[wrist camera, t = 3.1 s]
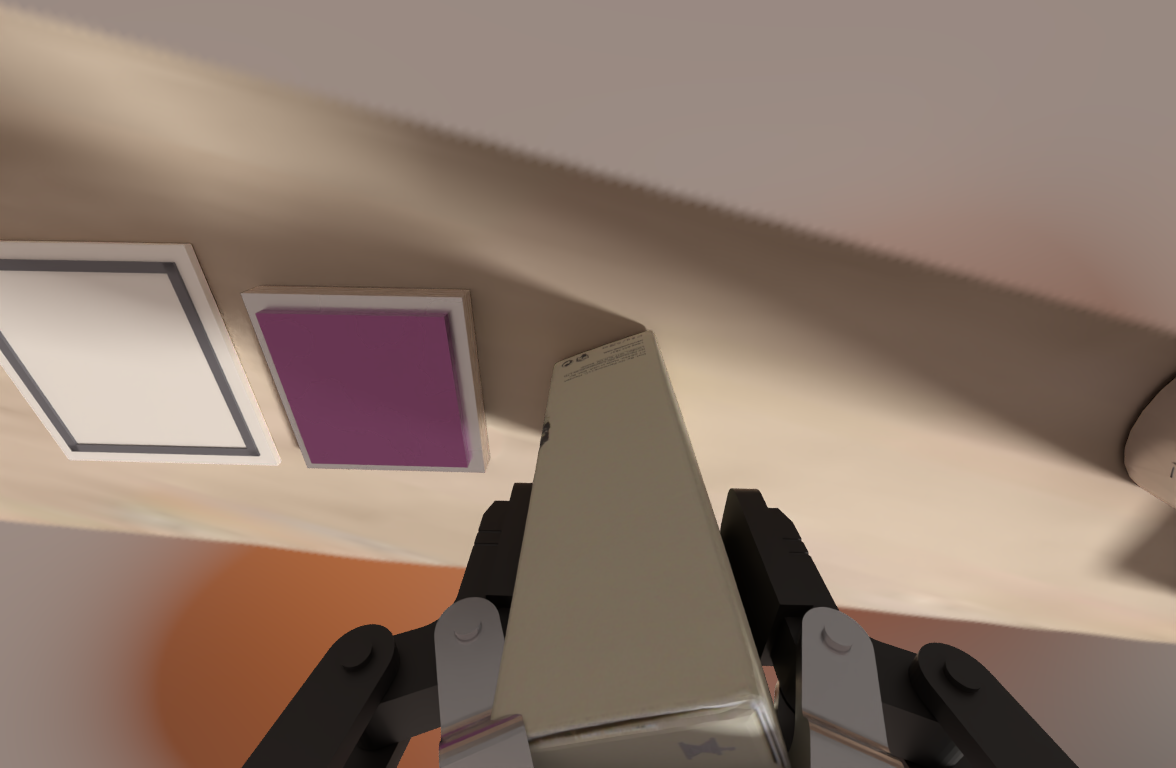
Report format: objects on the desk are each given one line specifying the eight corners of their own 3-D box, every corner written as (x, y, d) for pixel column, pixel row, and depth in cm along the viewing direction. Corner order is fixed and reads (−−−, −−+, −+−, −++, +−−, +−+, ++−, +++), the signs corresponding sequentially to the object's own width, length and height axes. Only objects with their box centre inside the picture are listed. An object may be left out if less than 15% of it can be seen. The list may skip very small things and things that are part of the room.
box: (550, 359, 17) (456, 745, 6) (655, 324, 17) (770, 697, 5) (595, 457, 20) (586, 867, 8) (689, 431, 19) (819, 848, 8)
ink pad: (469, 289, 16) (458, 300, 15) (490, 458, 20) (482, 478, 19) (260, 285, 16) (231, 296, 15) (320, 454, 20) (302, 473, 19)
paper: (190, 243, 16) (181, 245, 15) (281, 461, 20) (276, 467, 20) (-77, 239, 16) (-93, 240, 15) (76, 456, 20) (66, 461, 20)
